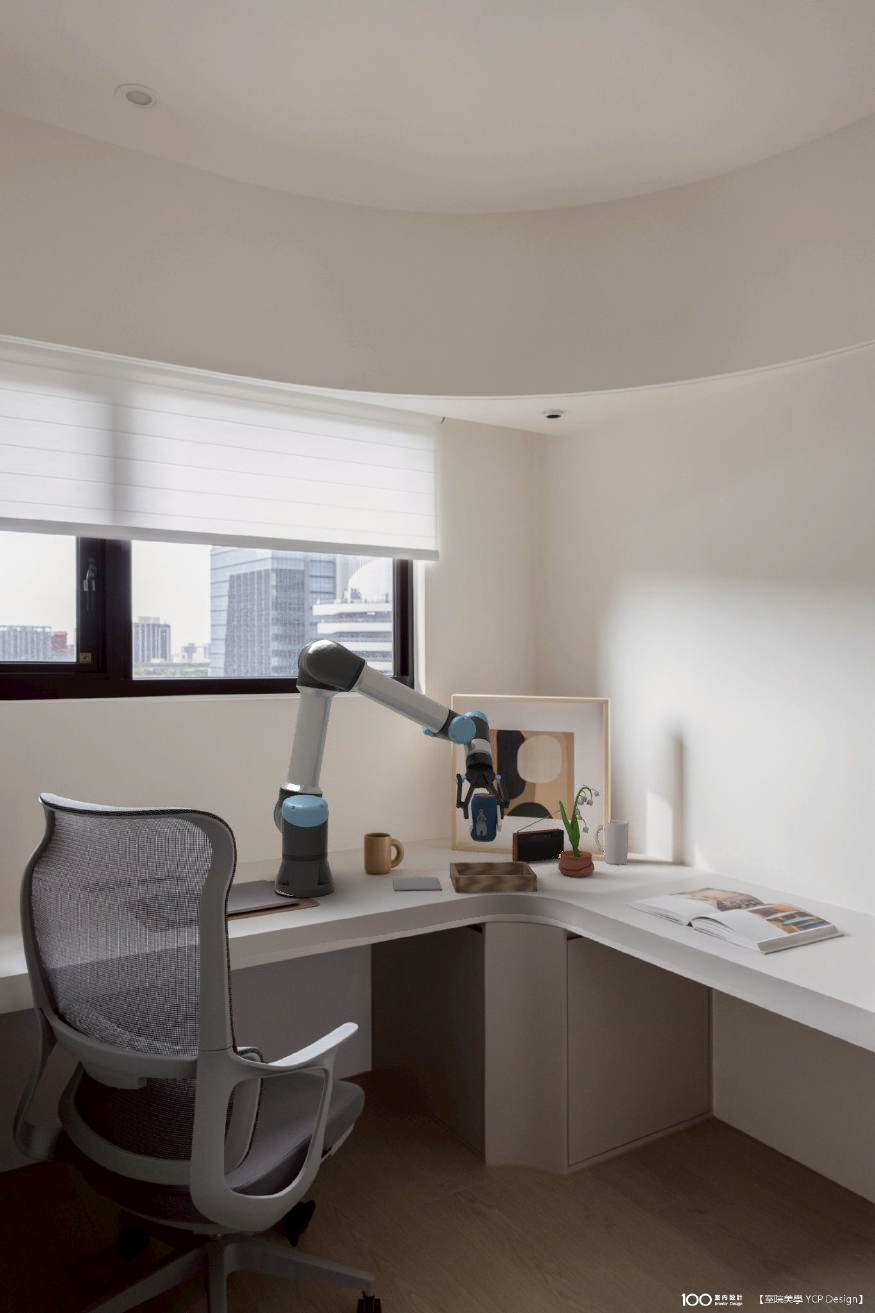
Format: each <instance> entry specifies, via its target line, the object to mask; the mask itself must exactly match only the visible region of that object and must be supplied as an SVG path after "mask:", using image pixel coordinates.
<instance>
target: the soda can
mask: <svg viewBox="0 0 875 1313" xmlns="http://www.w3.org/2000/svg"><path fill="white" fill-rule="evenodd" d="M470 805H471V811H472V823H473V827H472V832H469V833H470V837H471V839H472V841H474V842H479V843H491V842H494V840H495V839H496V837H497V832H498V830H497V800H496V798H495V795H494V794H489V792H486V793H485V792H479V793H478V792H477V793H473V795H472V798H471V800H470Z"/></svg>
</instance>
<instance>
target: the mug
mask: <svg viewBox="0 0 875 1313" xmlns="http://www.w3.org/2000/svg"><path fill="white" fill-rule="evenodd" d="M609 820H610V823H607V822H606V821H607V820H605V821H604V823H605V825H604V824H603V825H601V824H602V823H598V824H597V827H596V828H595V833H594V843H595V845H596V847H597V851H598V852H603V853H604V854H605V853H606V854H605V863H606V864H608V865H613V866H614V865H615V866H620V865H621V866H623V865H627V864H628V855H629V854H628V851H629V847H628V846H629V821H626V820H622V819H609ZM603 826H605V828H604V832H605V833H604V835H605V836H604V837H605V842H604V843H605V845H604V846H603V847H605V849H604V848H603V847H602V844H601V842H600V840H598V838H599V835H598V833H599V834H600V832H601V831H602V830H603ZM599 831H600V832H599ZM599 842H600V843H599ZM600 844H601V845H600ZM603 849H604V850H605V852H604V850H603ZM626 863H627V864H626Z"/></svg>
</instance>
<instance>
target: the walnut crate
mask: <svg viewBox="0 0 875 1313" xmlns="http://www.w3.org/2000/svg"><path fill="white" fill-rule="evenodd" d="M449 879H451V880H450V881H451V883H452V884H451V885H452V886H453V889H454V892H455V893H488V892H489V893H495V892H497V893H505V892H511V893H513V892H514V893H515V892H538V876H537V874H536V872H535V871H534V870H533V869H532V868H531V866H530V865H529V863H528V862H513V861H468V862H467V861H462V862H461V861H459V862H454V861H453V862H451V861H450V862H449Z"/></svg>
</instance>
